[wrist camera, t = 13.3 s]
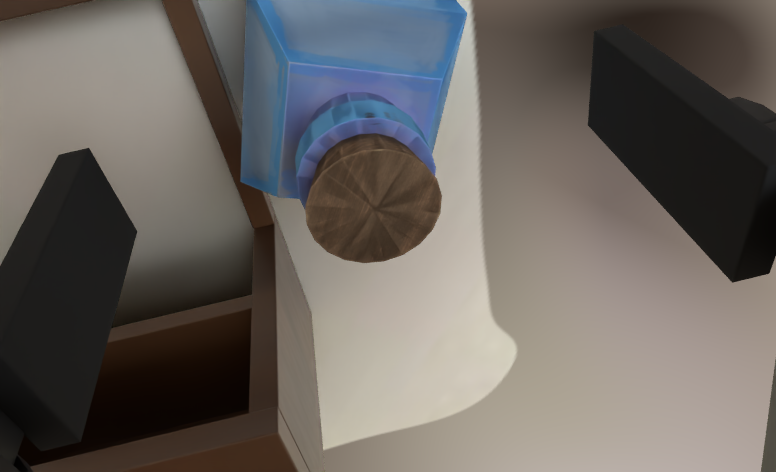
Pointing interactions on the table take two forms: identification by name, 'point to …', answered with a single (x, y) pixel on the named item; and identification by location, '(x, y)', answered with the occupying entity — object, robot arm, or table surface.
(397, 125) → the perfume bottle
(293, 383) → the desk rack
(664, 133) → the robot arm
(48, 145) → the table surface
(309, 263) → the table surface
